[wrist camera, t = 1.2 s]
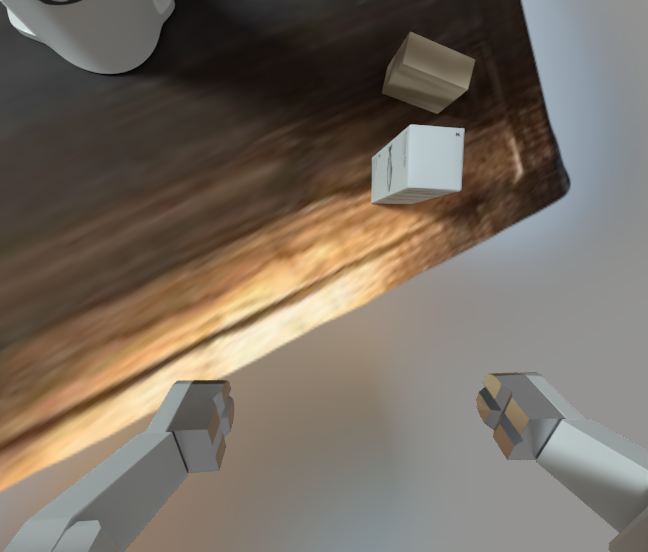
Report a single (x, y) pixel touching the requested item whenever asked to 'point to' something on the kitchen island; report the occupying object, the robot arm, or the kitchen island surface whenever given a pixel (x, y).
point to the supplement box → (418, 165)
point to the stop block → (427, 74)
